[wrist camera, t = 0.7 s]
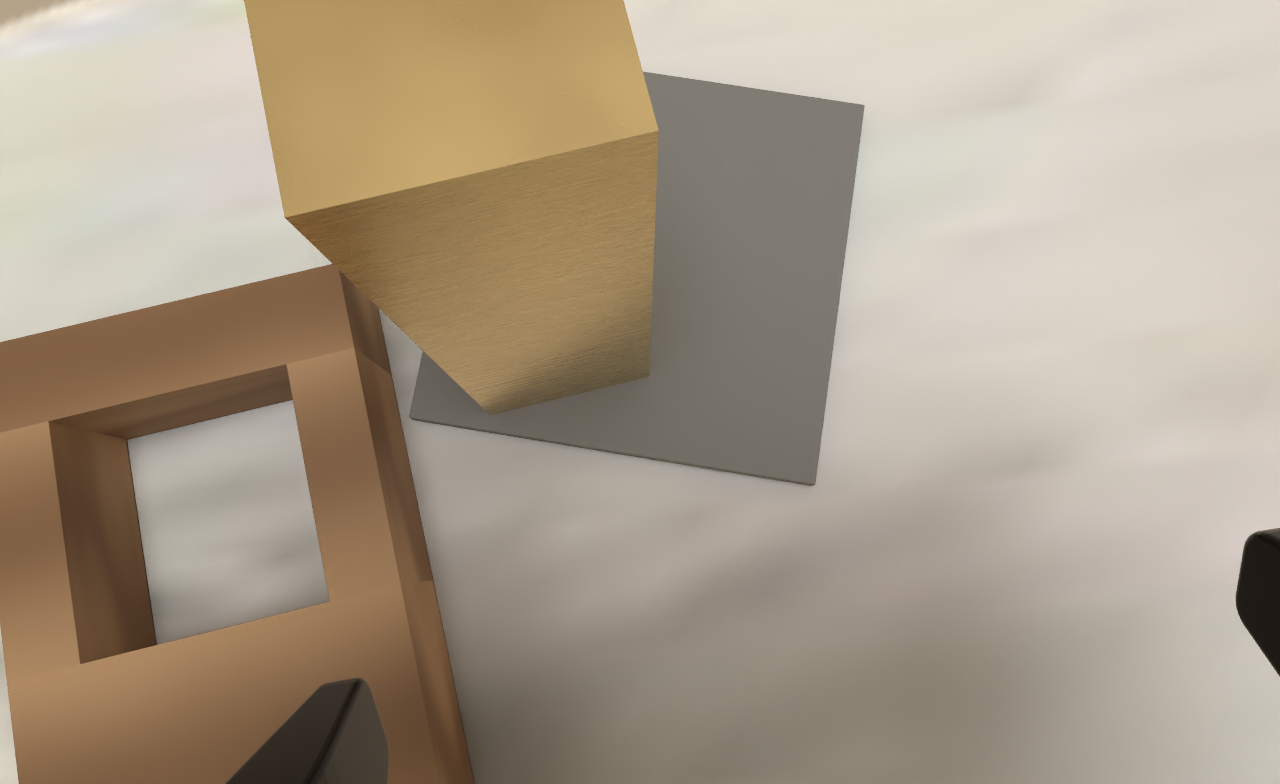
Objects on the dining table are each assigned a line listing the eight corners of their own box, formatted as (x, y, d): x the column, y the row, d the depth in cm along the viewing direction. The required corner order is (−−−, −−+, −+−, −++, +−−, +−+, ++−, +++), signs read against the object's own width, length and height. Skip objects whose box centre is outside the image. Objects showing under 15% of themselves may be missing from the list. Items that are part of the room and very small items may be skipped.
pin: (648, 376, 22) (658, 129, 10) (490, 415, 22) (285, 217, 9) (610, 227, 23) (572, -189, 10) (456, 263, 23) (223, -112, 10)
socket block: (489, 858, 21) (464, 907, 18) (132, 953, 20) (46, 1019, 17) (376, 300, 23) (337, 262, 20) (55, 377, 23) (-32, 349, 20)
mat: (812, 485, 22) (815, 484, 22) (412, 420, 23) (409, 417, 22) (861, 112, 24) (864, 105, 24) (490, 56, 24) (487, 48, 24)
